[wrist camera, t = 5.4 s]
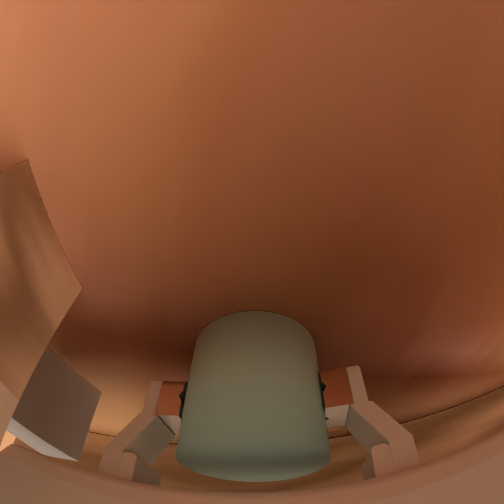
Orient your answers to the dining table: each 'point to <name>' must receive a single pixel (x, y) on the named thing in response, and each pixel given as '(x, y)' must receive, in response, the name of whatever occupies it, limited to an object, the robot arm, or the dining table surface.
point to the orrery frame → (341, 450)
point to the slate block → (55, 409)
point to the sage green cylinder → (254, 401)
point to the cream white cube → (6, 408)
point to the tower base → (28, 278)
